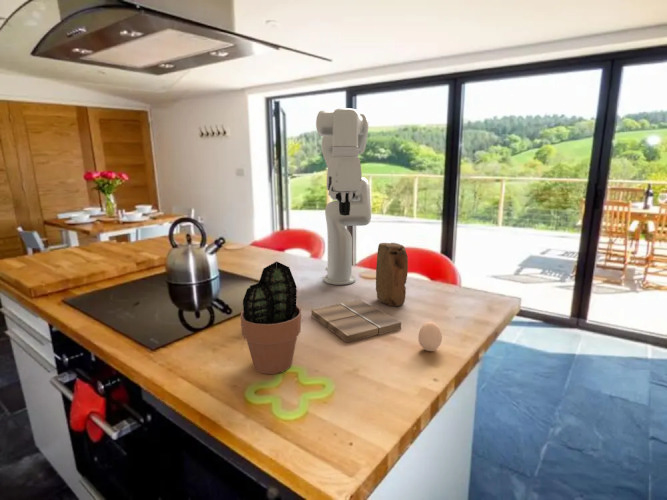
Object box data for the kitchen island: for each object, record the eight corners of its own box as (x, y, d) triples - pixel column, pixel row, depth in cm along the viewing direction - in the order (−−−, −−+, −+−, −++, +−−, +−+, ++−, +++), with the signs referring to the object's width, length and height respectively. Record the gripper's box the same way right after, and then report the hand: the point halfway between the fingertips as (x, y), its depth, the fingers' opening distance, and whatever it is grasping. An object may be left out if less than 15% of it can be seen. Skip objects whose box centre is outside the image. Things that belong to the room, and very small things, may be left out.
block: (373, 298, 135) (375, 241, 131) (392, 295, 138) (394, 240, 133) (389, 308, 125) (391, 248, 121) (409, 305, 128) (412, 246, 124)
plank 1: (311, 315, 120) (311, 309, 119) (339, 309, 124) (339, 303, 124) (327, 327, 111) (327, 321, 111) (356, 320, 116) (356, 314, 115)
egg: (430, 358, 95) (432, 329, 93) (412, 348, 99) (414, 321, 97) (445, 351, 98) (447, 323, 96) (427, 342, 102) (429, 315, 101)
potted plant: (251, 350, 98) (246, 254, 92) (304, 350, 98) (303, 254, 92) (236, 379, 85) (229, 270, 79) (298, 381, 84) (296, 270, 79)
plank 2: (328, 328, 111) (328, 321, 110) (357, 321, 116) (357, 315, 115) (347, 342, 102) (347, 335, 102) (378, 334, 107) (378, 327, 106)
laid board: (339, 309, 125) (339, 303, 124) (359, 305, 128) (360, 299, 128) (379, 334, 107) (379, 327, 107) (400, 328, 111) (401, 321, 110)
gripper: (359, 153, 121) (358, 211, 126) (316, 153, 114) (317, 215, 118) (373, 153, 115) (371, 214, 119) (329, 153, 108) (329, 218, 112)
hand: (344, 214), depth 119 cm, fingers closed
